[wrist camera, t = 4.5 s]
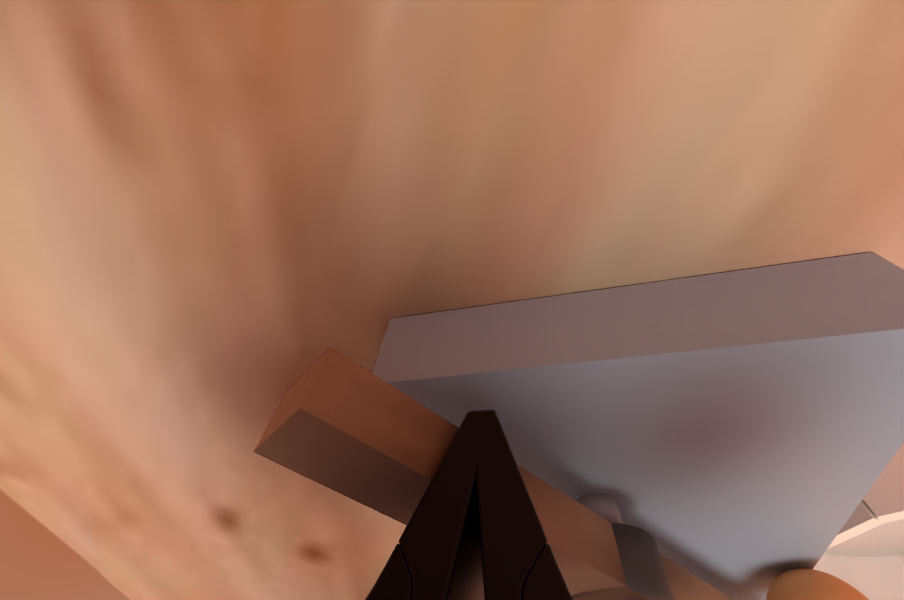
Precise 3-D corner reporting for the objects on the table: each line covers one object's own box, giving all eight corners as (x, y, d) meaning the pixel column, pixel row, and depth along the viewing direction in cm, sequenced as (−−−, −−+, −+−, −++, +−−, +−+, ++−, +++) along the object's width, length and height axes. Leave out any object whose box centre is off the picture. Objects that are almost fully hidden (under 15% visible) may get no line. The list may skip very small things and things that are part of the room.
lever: (804, 633, 15) (833, 689, 14) (729, 644, 17) (749, 696, 15) (342, 334, 8) (314, 395, 7) (277, 400, 9) (243, 461, 8)
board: (750, 529, 19) (801, 625, 16) (477, 535, 22) (475, 618, 19) (872, 252, 10) (1034, 345, 7) (390, 318, 13) (360, 407, 10)
